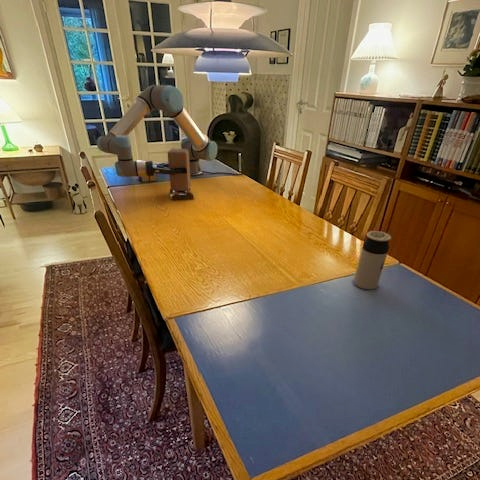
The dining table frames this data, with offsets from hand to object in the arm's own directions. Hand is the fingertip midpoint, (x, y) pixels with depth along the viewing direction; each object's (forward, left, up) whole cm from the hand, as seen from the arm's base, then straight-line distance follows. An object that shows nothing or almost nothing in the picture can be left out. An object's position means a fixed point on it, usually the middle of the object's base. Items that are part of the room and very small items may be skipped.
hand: (185, 167), depth 188 cm
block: (+3, 0, -12) cm, 12 cm away
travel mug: (-50, +112, -16) cm, 123 cm away
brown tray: (+3, 0, -15) cm, 16 cm away
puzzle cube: (+21, -39, -16) cm, 47 cm away
